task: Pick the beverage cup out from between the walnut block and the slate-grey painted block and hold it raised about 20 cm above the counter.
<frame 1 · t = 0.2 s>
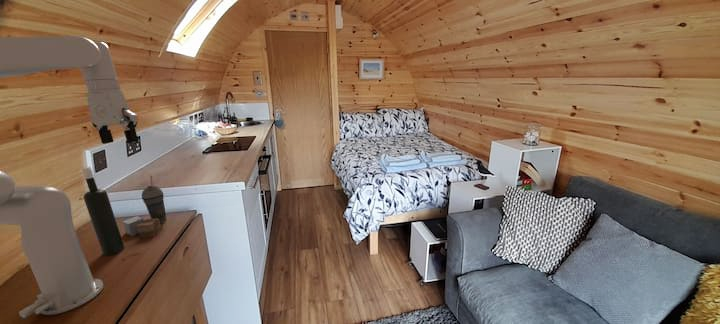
hand: (120, 142, 92), 37 cm above the cabinet, tool pointing down, fingers open, 9 cm apart
beverage cup: (160, 222, 122), on the cabinet
wine bottle: (114, 251, 101), on the cabinet
walnut block: (151, 233, 112), on the cabinet
slate-grey block: (136, 231, 115), on the cabinet
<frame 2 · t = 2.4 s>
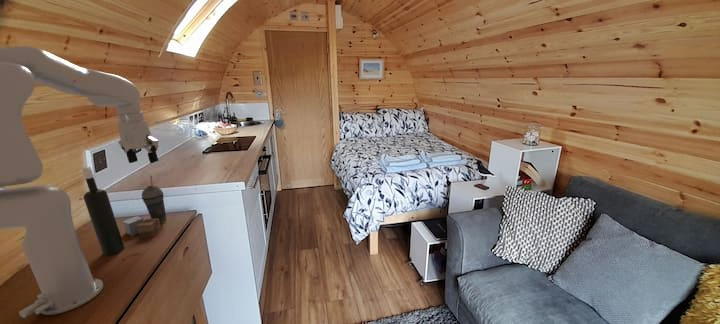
hand: (143, 162, 115), 26 cm above the cabinet, tool pointing down, fingers open, 9 cm apart
nothing on the cabinet moved.
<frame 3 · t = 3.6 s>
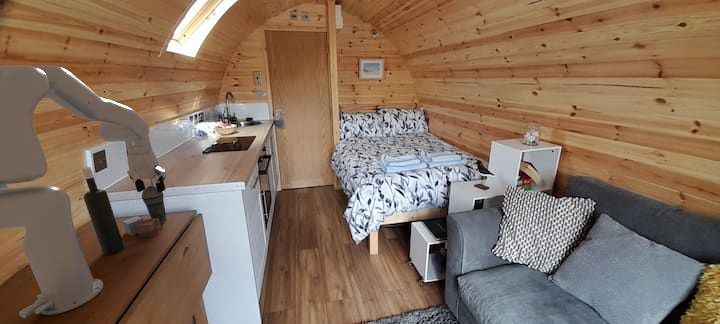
hand: (151, 191, 118), 14 cm above the cabinet, tool pointing down, fingers open, 9 cm apart
nothing on the cabinet moved.
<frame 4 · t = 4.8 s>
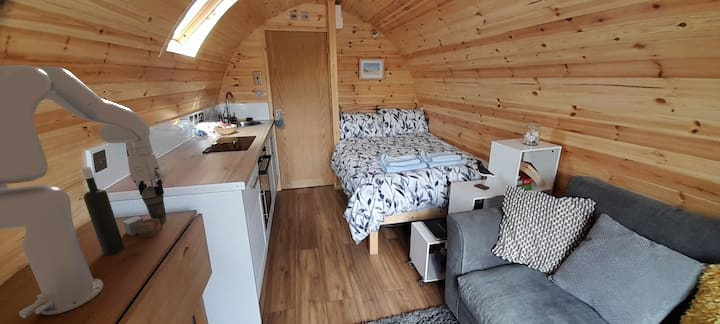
hand: (152, 194, 118), 12 cm above the cabinet, tool pointing down, fingers closed on beverage cup, 6 cm apart
beverage cup: (160, 222, 122), on the cabinet, touching gripper
everything else where it was.
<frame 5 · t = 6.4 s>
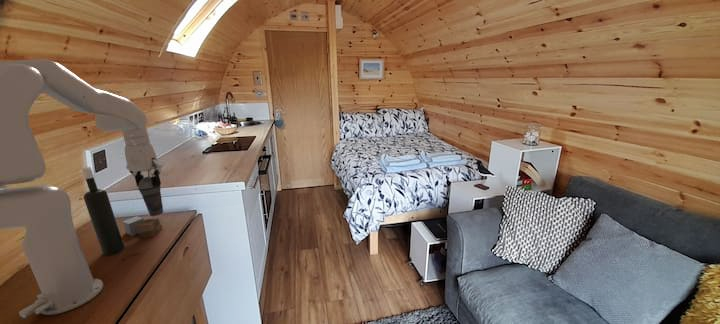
hand: (149, 185, 117), 16 cm above the cabinet, tool pointing down, fingers closed on beverage cup, 6 cm apart
beverage cup: (156, 214, 120), point 4 cm above the cabinet, touching gripper
everything else where it was.
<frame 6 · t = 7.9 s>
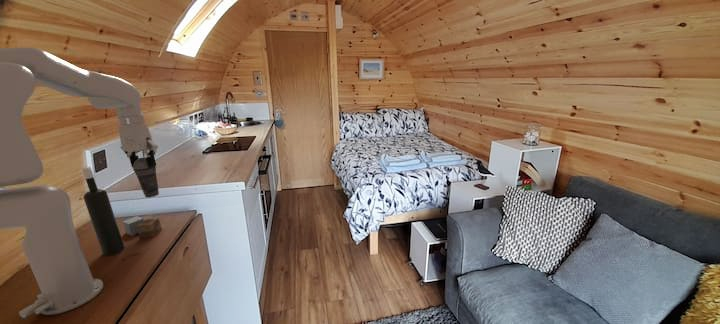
hand: (144, 166, 115), 24 cm above the cabinet, tool pointing down, fingers closed on beverage cup, 6 cm apart
beverage cup: (152, 195, 118), point 12 cm above the cabinet, touching gripper
everything else where it was.
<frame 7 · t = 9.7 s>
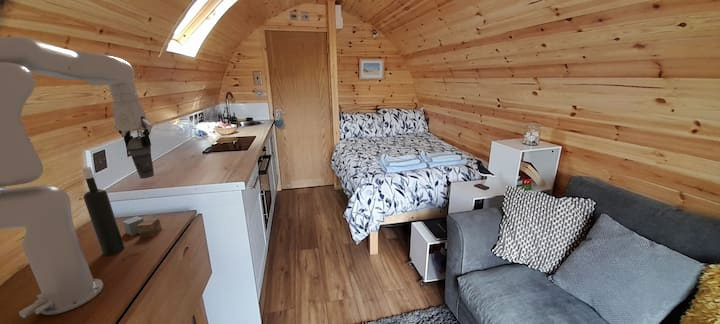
hand: (138, 146, 113), 32 cm above the cabinet, tool pointing down, fingers closed on beverage cup, 6 cm apart
beverage cup: (147, 177, 116), point 20 cm above the cabinet, touching gripper
everything else where it was.
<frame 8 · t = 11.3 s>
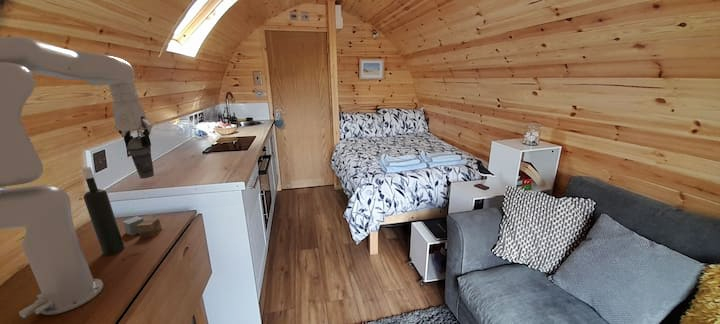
hand: (138, 146, 113), 32 cm above the cabinet, tool pointing down, fingers closed on beverage cup, 6 cm apart
beverage cup: (147, 177, 116), point 20 cm above the cabinet, touching gripper
everything else where it was.
at the end: the gripper is holding beverage cup; beverage cup point 19.5 cm above the cabinet; slate-grey block moved 0.1 cm from its start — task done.
